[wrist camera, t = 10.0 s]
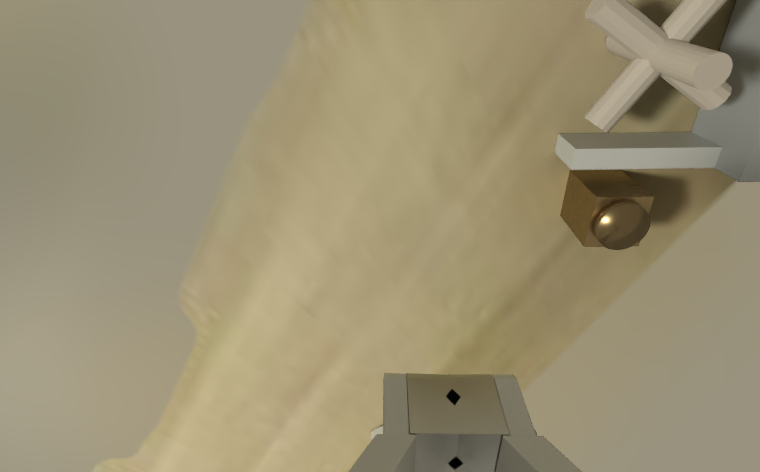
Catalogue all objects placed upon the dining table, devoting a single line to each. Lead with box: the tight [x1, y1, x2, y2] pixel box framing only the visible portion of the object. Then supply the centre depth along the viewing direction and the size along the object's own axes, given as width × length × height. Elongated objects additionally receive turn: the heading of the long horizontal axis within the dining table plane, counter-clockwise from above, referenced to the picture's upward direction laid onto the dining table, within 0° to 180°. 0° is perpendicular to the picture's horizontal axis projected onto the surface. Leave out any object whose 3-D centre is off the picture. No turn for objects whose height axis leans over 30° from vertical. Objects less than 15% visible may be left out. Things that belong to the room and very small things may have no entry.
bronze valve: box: [560, 170, 654, 250], centre depth 34 cm, size 4×4×6 cm
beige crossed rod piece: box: [584, 0, 733, 133], centre depth 26 cm, size 10×10×10 cm
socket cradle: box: [555, 0, 760, 182], centre depth 28 cm, size 15×12×6 cm
